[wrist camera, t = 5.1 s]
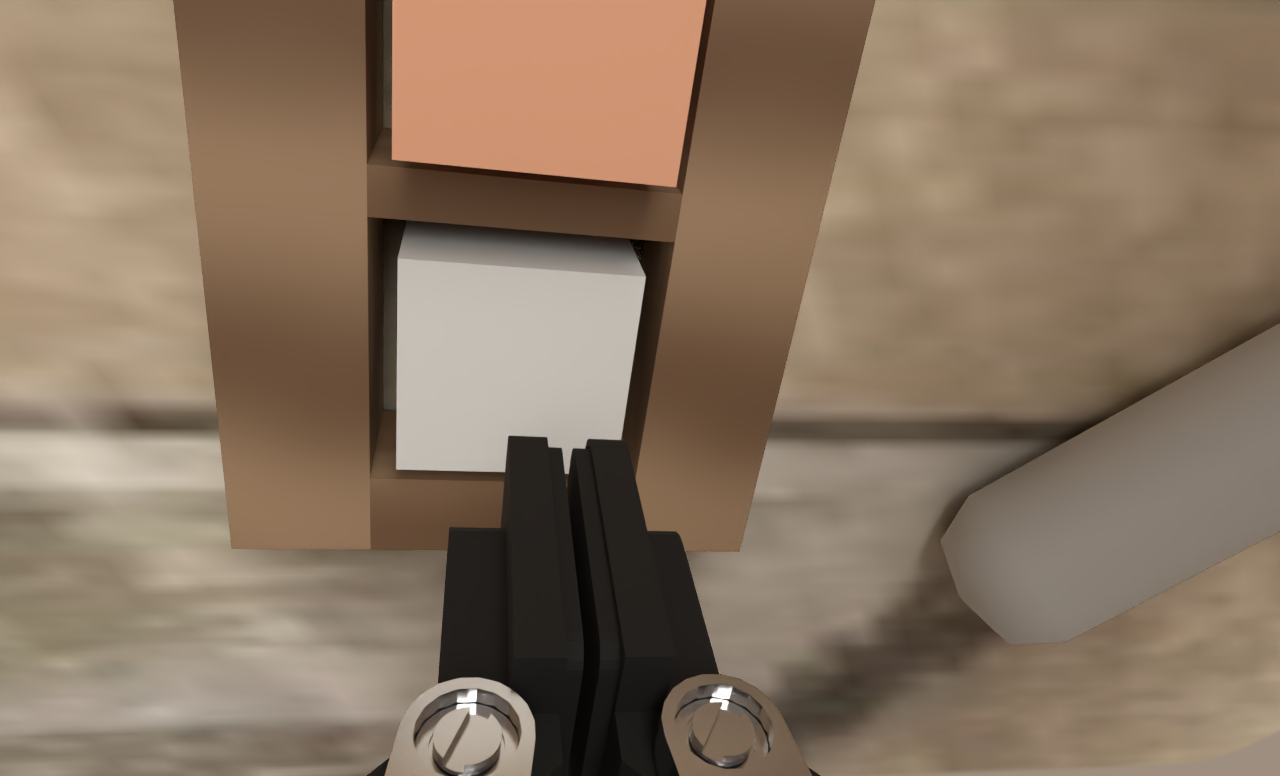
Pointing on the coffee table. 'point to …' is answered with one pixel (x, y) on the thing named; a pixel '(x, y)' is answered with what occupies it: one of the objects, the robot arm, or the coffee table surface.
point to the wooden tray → (384, 188)
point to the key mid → (545, 85)
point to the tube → (1127, 503)
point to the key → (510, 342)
